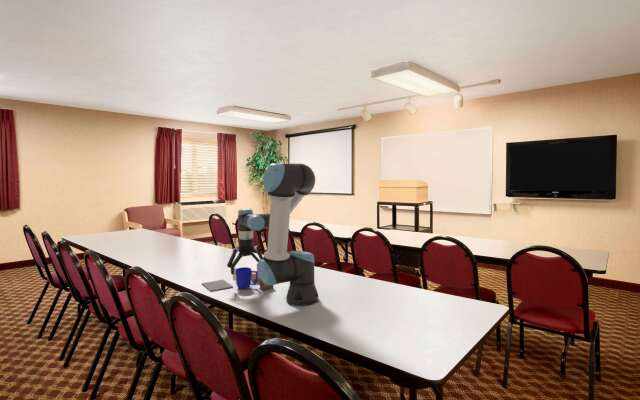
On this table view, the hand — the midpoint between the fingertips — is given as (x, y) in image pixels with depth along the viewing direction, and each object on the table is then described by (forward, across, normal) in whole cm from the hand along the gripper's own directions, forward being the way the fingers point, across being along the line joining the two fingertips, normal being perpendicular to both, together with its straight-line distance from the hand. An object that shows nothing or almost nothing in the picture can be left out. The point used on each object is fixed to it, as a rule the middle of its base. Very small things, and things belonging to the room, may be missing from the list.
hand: (246, 278), depth 190 cm
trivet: (+5, +12, -12) cm, 18 cm away
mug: (+5, 0, 0) cm, 5 cm away
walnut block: (+5, -8, +8) cm, 12 cm away
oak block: (+6, -9, -8) cm, 14 cm away
